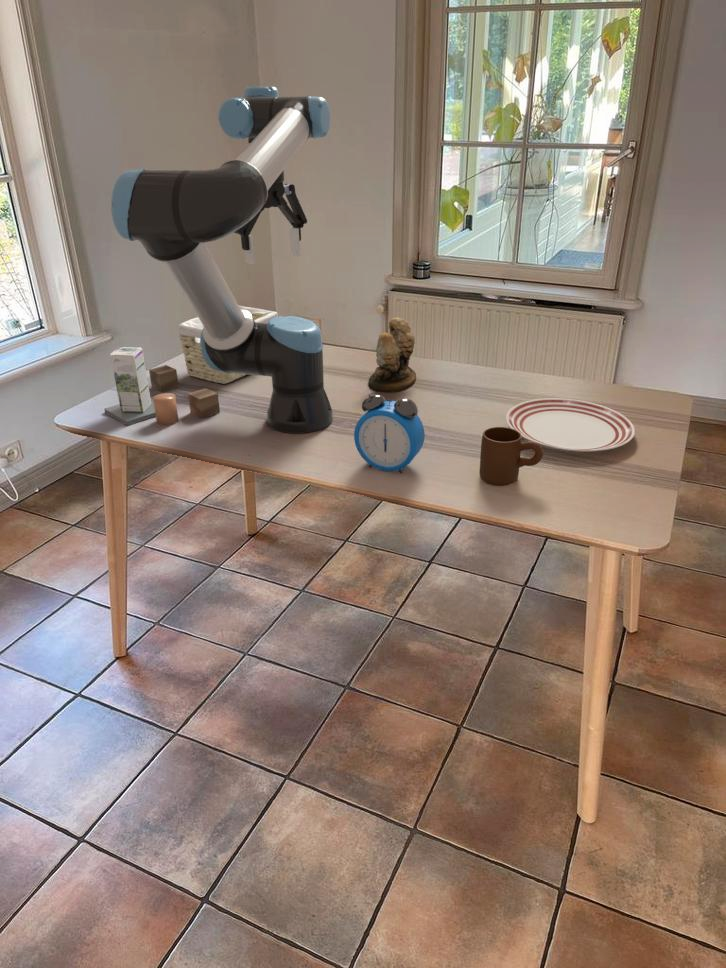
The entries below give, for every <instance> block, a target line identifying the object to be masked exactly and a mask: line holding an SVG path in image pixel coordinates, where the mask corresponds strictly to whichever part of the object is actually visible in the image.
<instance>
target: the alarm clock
mask: <svg viewBox="0 0 726 968" xmlns="http://www.w3.org/2000/svg"><path fill="white" fill-rule="evenodd" d="M361 409H362V411H363V412H365V413H364V414H363V415H362V416H361V417H360V418H359V419H358V421H357V422H356V424H355V427H354V433H353V438H354V439H353V440H354V444H355V447H356V450H357V452H358V454H359V456H360V457H361V458H362V459H363V460H364V461H365V462H366V463H367V464H368V465H369V466H368V467H369V468H371V467H373V468H374V469H378V470H379V471H384V472H396V471H398V472H399V473H400V474H403V471H402V469H405V468H406V467H407V466H408V465H409V464H411V462H412V461H413V460H414V459H415V457H416V456H417V455H418V454H419V453H420V451H421V449H422V448H423V445H424V442H425V436H426V435H425V427H424V425H423V422H422V420H421V418H420V416H419V415H418V412H419V409H418V406H417V404H416V402H415V401H413V400H412V399H410V398H409V397H408V398H406V397H402V398H398V399H397V400H396V401H395V400H393V399H388V398H387V399H386V398H385V397H384V396H383V395H382V394H379V393H373V394H368V396H366V398H364V400H363V401H362V403H361Z"/></svg>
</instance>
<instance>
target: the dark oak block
mask: <svg viewBox="0 0 726 968" xmlns="http://www.w3.org/2000/svg"><path fill="white" fill-rule="evenodd" d="M148 372H149V378H150V385H151V388H152V389H154V390H156V391H157V392H160V393H167V392H169V391H172V390H176V389H179V387H180V386H179V379H178V372H177V369H176V368H174V367H171V366H170V365H166V364H165V365H161V366H157V367H154V368H150V369H149V370H148Z"/></svg>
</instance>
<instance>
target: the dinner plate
mask: <svg viewBox="0 0 726 968" xmlns="http://www.w3.org/2000/svg"><path fill="white" fill-rule="evenodd" d="M505 421H506V423H507V425H508V428H511V429H514V430H517V431H518V432H520V434H521V436H522V438H523V439H525V440H527V441H533V442H536V443H538V444H539V445H540V446H541V447H545V448H547V449H548V448H549V449H553V450H557V451H563V452H564V451H565V452H573V453H589V452H602V451H608V450H609V451H610V450H613V449H617V448H620V447H622V446H624V445H626V444H628V443H629V442H631V440H633V438H634V437H635V433H636V428H635V426H634V424H633V423H632V422H631V420H630V419H629V418H628V417H626V416H625V415H624V414H623V413H621V412H618V411H617V410H614V409H612V408H609V407H608V406H605V405H601V404H597V403H594V402H589V401H585V400H578V399H573V398H561V397H557V398H556V397H555V398H554V397H552V398H550V397H548V398H545V397H544V398H535V399H530V400H527V401H525V400H524V401H522V402H520V403H518V404H515V405H514V406H512V407H511V408H510V409H509V410H508V411H507V413H506V415H505Z"/></svg>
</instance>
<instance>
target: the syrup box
mask: <svg viewBox="0 0 726 968" xmlns="http://www.w3.org/2000/svg"><path fill="white" fill-rule="evenodd" d="M110 360H111V361H110V362H111V365H112V367H111V368H112V372H113V377H114V381H115V387H116V392H117V397H118V402H119V404H120V408H121V412H144V411H146V410H147V409H148V407H149V406H150V405H151V400H152V399H151V394H150V389H149V383H148V376H147V368H146V363H145V358H144V352H143V348H142V347H128V346H127V347H126V346H124V347H122V346H119V347H117V348H115V349H114V350H113V351H112V352H111V353H110Z"/></svg>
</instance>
